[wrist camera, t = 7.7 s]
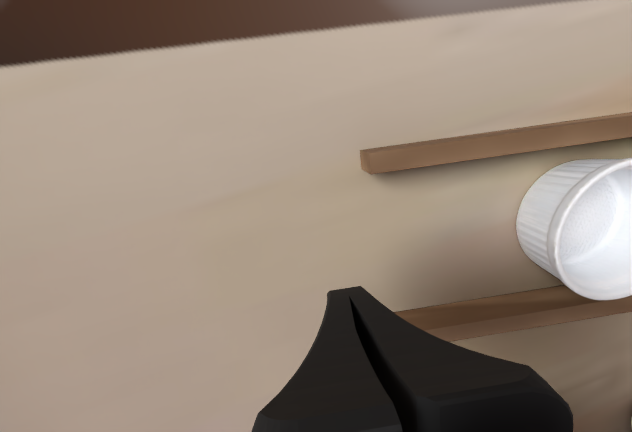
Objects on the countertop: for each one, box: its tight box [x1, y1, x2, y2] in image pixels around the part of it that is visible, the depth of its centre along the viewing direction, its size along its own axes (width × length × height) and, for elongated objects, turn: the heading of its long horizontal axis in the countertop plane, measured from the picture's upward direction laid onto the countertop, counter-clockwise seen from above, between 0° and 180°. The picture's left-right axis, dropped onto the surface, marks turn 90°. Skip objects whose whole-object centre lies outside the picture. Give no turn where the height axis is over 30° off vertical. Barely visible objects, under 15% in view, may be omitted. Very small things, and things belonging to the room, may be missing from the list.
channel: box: [360, 112, 632, 342], centre depth 21 cm, size 13×20×2 cm
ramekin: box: [516, 158, 632, 300], centre depth 20 cm, size 9×9×4 cm
